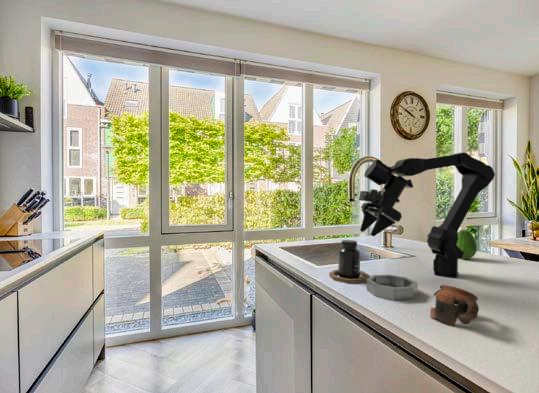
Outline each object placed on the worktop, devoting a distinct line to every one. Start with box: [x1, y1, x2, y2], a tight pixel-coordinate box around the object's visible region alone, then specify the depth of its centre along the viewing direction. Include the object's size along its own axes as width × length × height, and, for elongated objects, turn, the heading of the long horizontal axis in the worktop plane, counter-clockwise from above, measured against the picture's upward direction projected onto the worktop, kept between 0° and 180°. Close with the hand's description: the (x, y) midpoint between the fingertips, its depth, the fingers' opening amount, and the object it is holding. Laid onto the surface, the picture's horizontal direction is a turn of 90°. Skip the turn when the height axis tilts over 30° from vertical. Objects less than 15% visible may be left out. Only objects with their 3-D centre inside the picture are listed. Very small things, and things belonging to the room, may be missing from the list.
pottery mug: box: [429, 284, 480, 327], centre depth 66 cm, size 12×10×8 cm
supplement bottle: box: [337, 239, 361, 279], centre depth 98 cm, size 7×7×12 cm
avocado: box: [456, 229, 478, 260], centre depth 122 cm, size 8×8×12 cm
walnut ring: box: [328, 269, 371, 284], centre depth 98 cm, size 12×12×1 cm
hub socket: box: [366, 274, 418, 301], centre depth 84 cm, size 12×12×3 cm
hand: (366, 233), depth 99 cm, fingers open, 9 cm apart
